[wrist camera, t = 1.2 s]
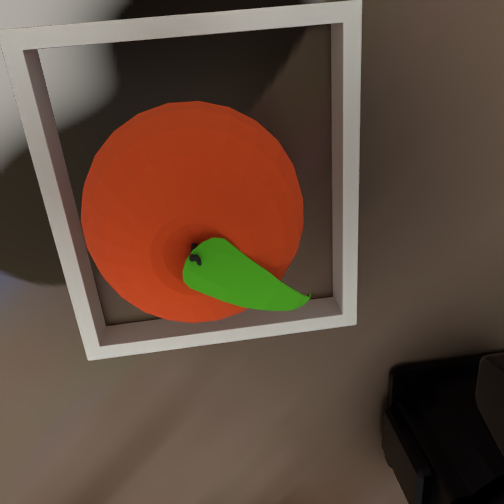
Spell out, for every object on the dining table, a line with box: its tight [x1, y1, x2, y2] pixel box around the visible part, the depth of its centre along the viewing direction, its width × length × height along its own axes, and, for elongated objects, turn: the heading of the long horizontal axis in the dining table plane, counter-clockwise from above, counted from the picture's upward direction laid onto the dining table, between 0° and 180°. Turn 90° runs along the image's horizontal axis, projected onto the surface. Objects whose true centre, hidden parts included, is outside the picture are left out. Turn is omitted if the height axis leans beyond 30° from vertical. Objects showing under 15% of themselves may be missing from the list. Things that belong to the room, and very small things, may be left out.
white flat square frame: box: [0, 0, 362, 361], centre depth 18 cm, size 11×12×2 cm
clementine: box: [81, 101, 312, 323], centre depth 15 cm, size 8×7×7 cm
